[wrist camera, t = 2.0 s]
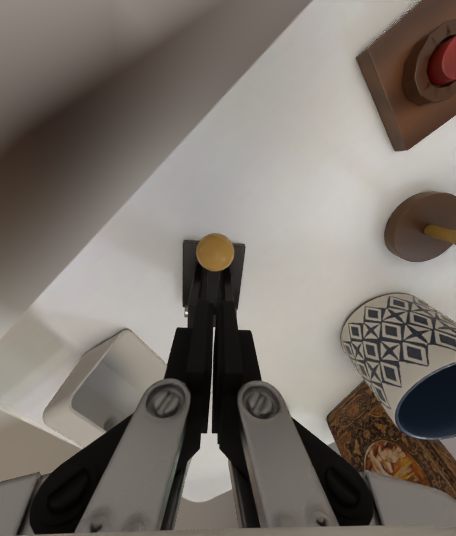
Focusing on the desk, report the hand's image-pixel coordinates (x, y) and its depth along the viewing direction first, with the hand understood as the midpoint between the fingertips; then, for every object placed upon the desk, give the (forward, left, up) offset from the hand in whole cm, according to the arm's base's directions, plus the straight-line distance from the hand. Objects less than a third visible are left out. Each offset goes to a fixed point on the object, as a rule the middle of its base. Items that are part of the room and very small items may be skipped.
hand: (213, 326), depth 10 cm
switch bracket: (+6, -6, -24) cm, 25 cm away
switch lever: (+3, -2, -13) cm, 14 cm away
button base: (+2, +29, -24) cm, 37 cm away
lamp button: (+2, +29, -20) cm, 35 cm away
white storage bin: (+16, -33, -24) cm, 44 cm away
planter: (+35, +11, -24) cm, 44 cm away
